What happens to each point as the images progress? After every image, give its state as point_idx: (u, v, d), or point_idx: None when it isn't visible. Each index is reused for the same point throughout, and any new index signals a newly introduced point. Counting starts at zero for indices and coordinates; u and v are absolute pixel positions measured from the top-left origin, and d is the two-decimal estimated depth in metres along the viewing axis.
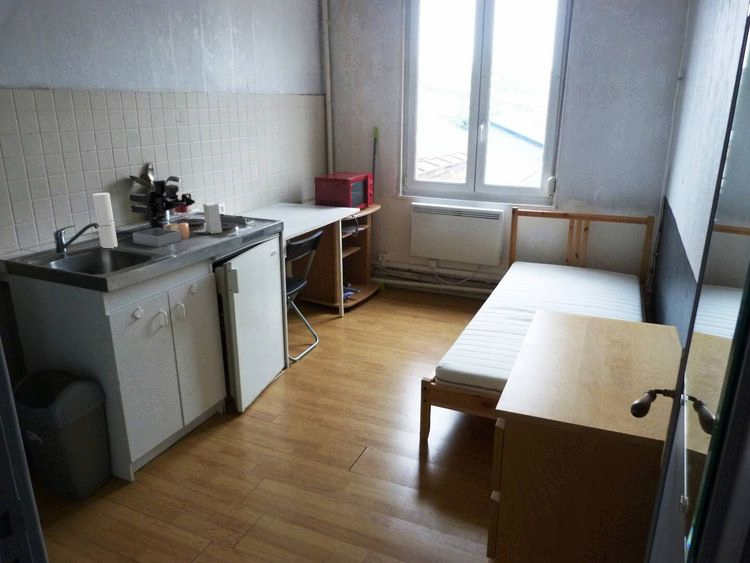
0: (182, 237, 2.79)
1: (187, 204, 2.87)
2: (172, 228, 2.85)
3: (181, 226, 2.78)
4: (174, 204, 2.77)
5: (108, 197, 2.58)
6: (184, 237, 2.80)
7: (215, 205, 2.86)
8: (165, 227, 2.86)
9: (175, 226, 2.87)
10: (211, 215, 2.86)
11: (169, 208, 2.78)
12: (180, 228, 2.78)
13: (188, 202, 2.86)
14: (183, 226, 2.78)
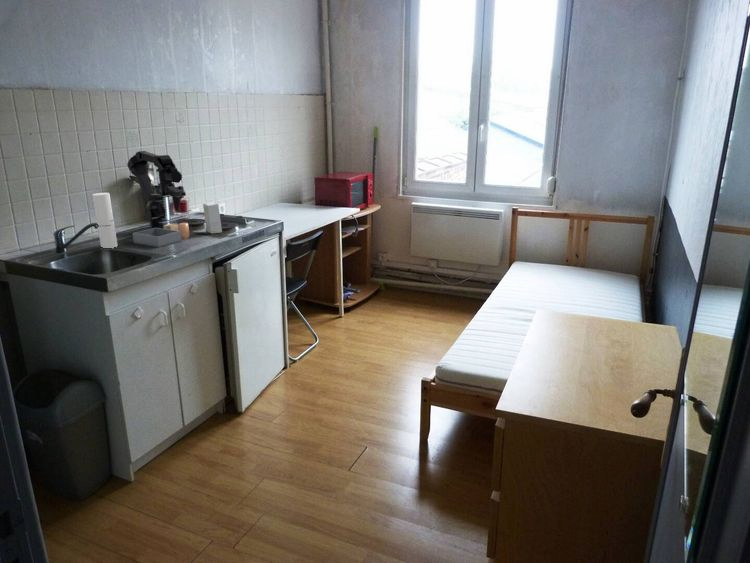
0: (182, 237, 2.79)
1: (173, 199, 2.89)
2: (172, 228, 2.85)
3: (181, 226, 2.78)
4: (160, 208, 2.80)
5: (108, 197, 2.58)
6: (184, 237, 2.80)
7: (215, 205, 2.86)
8: (165, 227, 2.86)
9: (175, 226, 2.87)
10: (211, 215, 2.86)
11: (154, 202, 2.79)
12: (180, 228, 2.78)
13: (175, 201, 2.88)
14: (183, 226, 2.78)
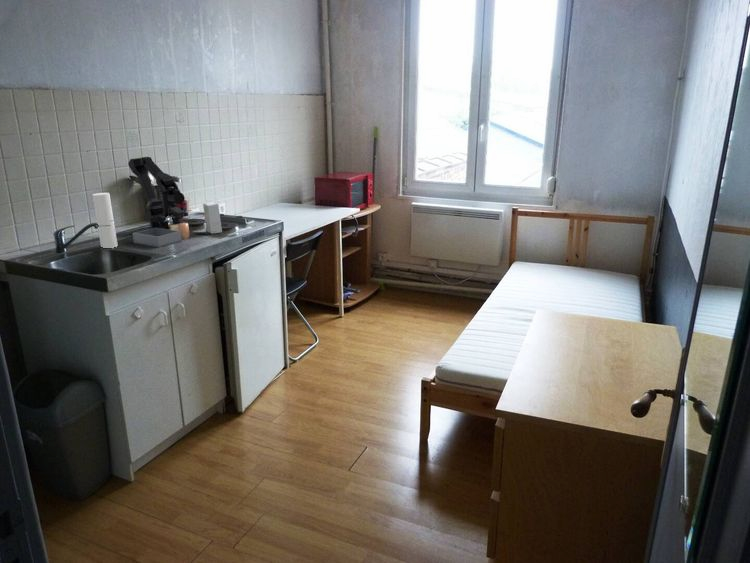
0: (182, 237, 2.79)
1: (173, 219, 2.90)
2: (172, 228, 2.85)
3: (181, 226, 2.78)
4: (165, 228, 2.85)
5: (108, 197, 2.58)
6: (184, 237, 2.80)
7: (215, 205, 2.86)
8: None
9: (175, 226, 2.87)
10: (211, 215, 2.86)
11: (160, 222, 2.84)
12: (180, 228, 2.78)
13: (174, 222, 2.90)
14: (183, 226, 2.78)
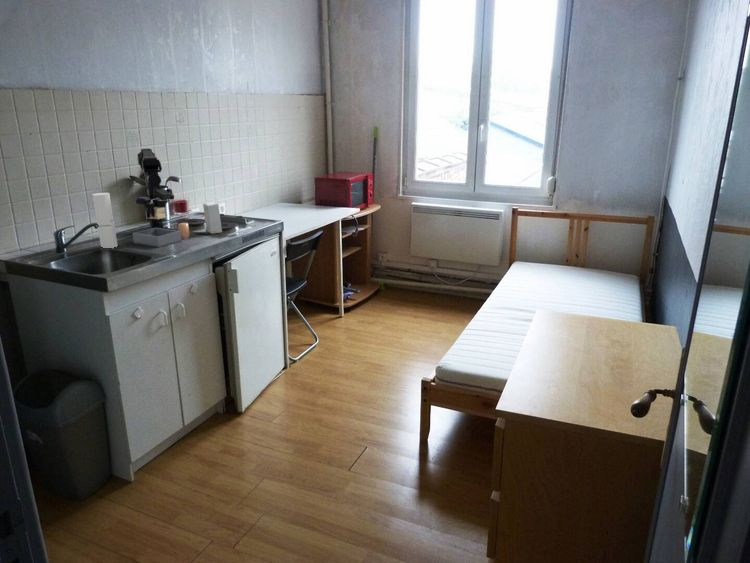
0: (182, 237, 2.79)
1: (158, 203, 2.79)
2: (158, 211, 2.74)
3: (181, 226, 2.78)
4: (151, 211, 2.73)
5: (108, 197, 2.58)
6: (184, 237, 2.80)
7: (215, 205, 2.86)
8: None
9: (161, 209, 2.75)
10: (211, 215, 2.86)
11: (145, 205, 2.72)
12: (180, 228, 2.78)
13: (160, 205, 2.78)
14: (183, 226, 2.78)
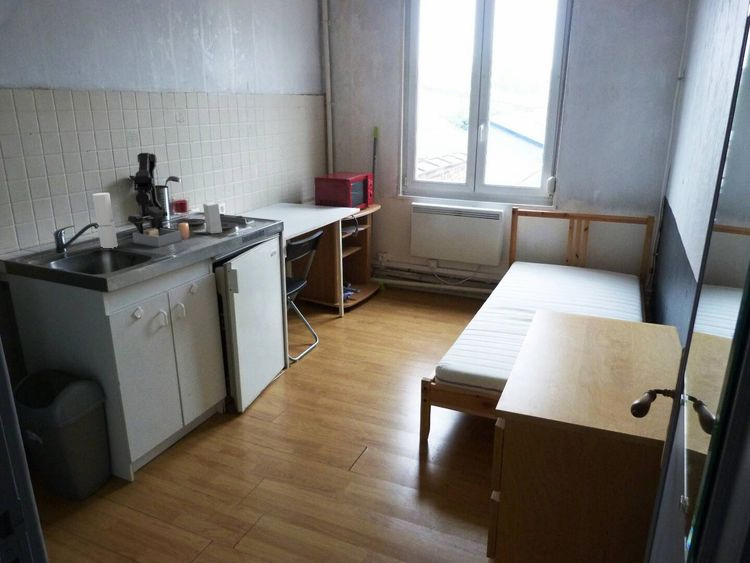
0: (182, 237, 2.79)
1: (154, 219, 2.77)
2: (151, 233, 2.71)
3: (181, 226, 2.78)
4: (140, 229, 2.69)
5: (108, 197, 2.58)
6: (184, 237, 2.80)
7: (215, 205, 2.86)
8: (144, 232, 2.73)
9: (154, 231, 2.73)
10: (211, 215, 2.86)
11: (134, 223, 2.68)
12: (180, 228, 2.78)
13: (156, 221, 2.77)
14: (183, 226, 2.78)
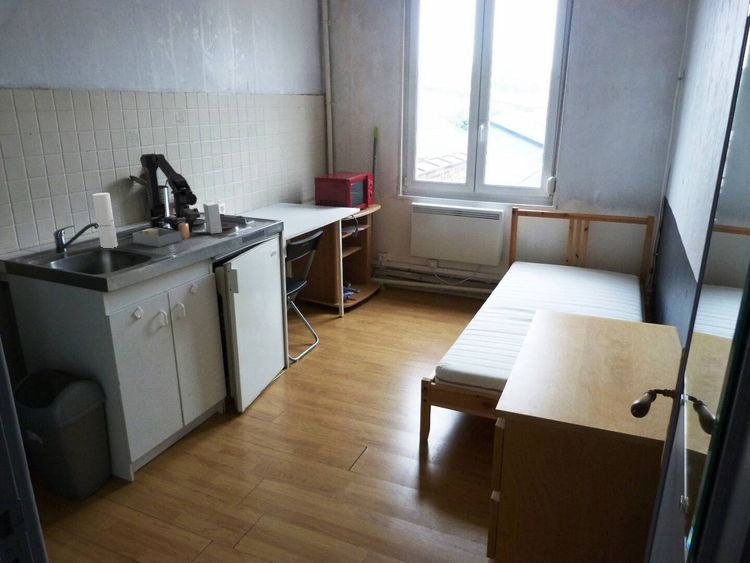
0: (182, 237, 2.79)
1: (186, 221, 2.84)
2: (151, 233, 2.71)
3: (181, 226, 2.78)
4: (176, 230, 2.77)
5: (108, 197, 2.58)
6: (184, 237, 2.80)
7: (215, 205, 2.86)
8: (144, 232, 2.73)
9: (154, 231, 2.73)
10: (211, 215, 2.86)
11: (170, 225, 2.76)
12: (180, 228, 2.78)
13: (188, 223, 2.84)
14: (183, 226, 2.78)
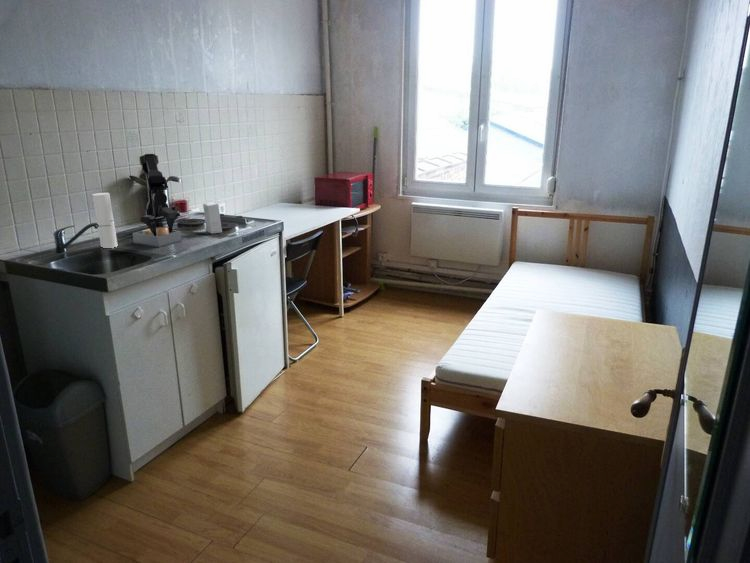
0: None
1: (167, 220, 2.73)
2: (151, 233, 2.71)
3: (160, 230, 2.67)
4: (153, 230, 2.64)
5: (108, 197, 2.58)
6: None
7: (215, 205, 2.86)
8: (144, 232, 2.73)
9: None
10: (211, 215, 2.86)
11: (147, 224, 2.64)
12: (159, 232, 2.67)
13: (168, 222, 2.72)
14: (162, 230, 2.67)
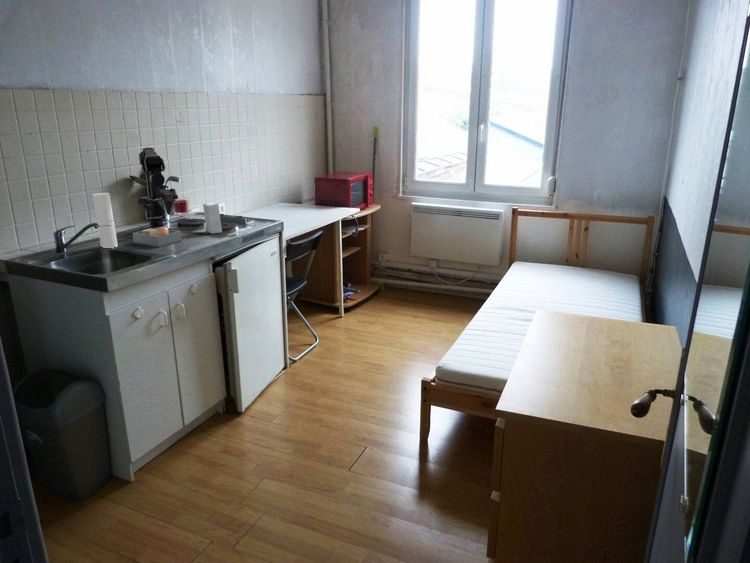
0: None
1: (165, 202, 2.70)
2: (151, 233, 2.71)
3: (160, 230, 2.67)
4: (150, 212, 2.61)
5: (108, 197, 2.58)
6: None
7: (215, 205, 2.86)
8: (144, 232, 2.73)
9: (154, 231, 2.73)
10: (211, 215, 2.86)
11: (144, 206, 2.61)
12: (159, 232, 2.67)
13: (166, 205, 2.70)
14: (162, 230, 2.67)
